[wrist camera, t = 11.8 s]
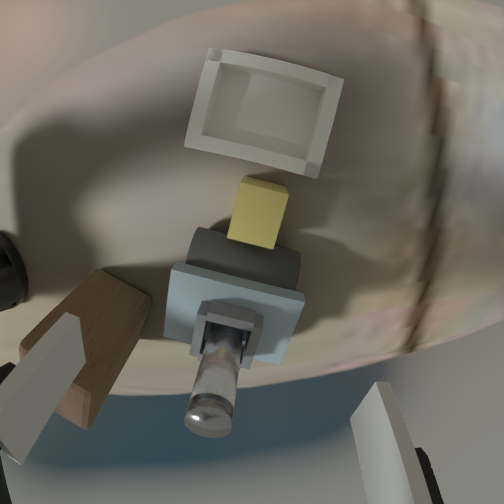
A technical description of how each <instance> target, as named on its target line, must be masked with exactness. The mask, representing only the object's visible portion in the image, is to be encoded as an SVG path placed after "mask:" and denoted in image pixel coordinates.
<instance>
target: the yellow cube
mask: <svg viewBox="0 0 504 504" xmlns="http://www.w3.org/2000/svg"><path fill="white" fill-rule="evenodd" d="M288 197H289V194H288V191H287V189H286V187H285V186H282V185H278V184H274V183H271V182H267V181H263V180H259V179H255V178H251V177H247V176H244V177H243V179H242V180H241V182H240V185H239V189H238V193H237V197H236V201H235V205H234V210H233V214H232V218H231V222H230V226H229V231H228V235H227V238H229V239H233V240H237V241H241V242H245V243H249V244H253V245H257V246H261V247H264V248H268V249H272V250H273V249H274V245H275V242H276V238H277V235H278V232H279V228H280V225H281V221H282V218H283V214H284V211H285V207H286V204H287V200H288Z"/></svg>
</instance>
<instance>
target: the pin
mask: <svg viewBox="0 0 504 504" xmlns="http://www.w3.org/2000/svg"><path fill="white" fill-rule="evenodd" d="M243 334H244V330H243V329H239V328H234V327H230V326H226V325H222V324H218V323H214V322H212V324H211V328H210V331H209V335H208V338H207V341H206V345H205V348H204V352H203V355H202V359H201V362H200V366H199V369H198V373H197V376H196V380H195V383H194V387H193V390H192V394H191V398H190V401H189V405H188V408H187V412H186V415H185V419H184V424H185V425H186V427H187V428H188V429H189V430H190V431H192V432H193V433H195V434H197V435H200V436H203V437H208V438H219V437H224V436H226V435H228V434H229V433H230V431H231V425H232V418H233V411H234V402H235V395H236V388H237V380H238V372H239V365H240V357H241V349H242V342H243Z"/></svg>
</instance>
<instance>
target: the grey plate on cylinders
mask: <svg viewBox="0 0 504 504" xmlns="http://www.w3.org/2000/svg"><path fill="white" fill-rule="evenodd" d="M227 235H228V234H226V233H222V232H218V231H214V230H210V229H206V228H202V227H198V228H197V230H196V232H195V234H194V236H193V239H192V241H191V245H190V248H189V251H188V255H187V259H186V264H184V263H181V262H176V263H175V264H174V266H173V267H172V269H171V274H170V282H169V289H168V297H167V306H166V315H165V324H164V334H163V337H166V338H169V339H173V340H176V341H180V342H183V343H187V344H191V350H190V355H192V356H196V357H199V358H198V360H199V361H201V359H202V355H203V352H204V348H205V345H206V341H207V338H208V335H209V331H210V328H211V324H212V322H214V323H218V324H222V325H226V326H230V327H234V328H239V329H243V330H244V334H243V342H242V349H241V357H240V365H239V370H240V367H242V368H246V369H250V366H251V363H252V360H257V361H262V362H267V363H272V364H278V365H280V363H281V361H282V359H283V356H284V354H285V352H286V349H287V347H288V344H289V342H290V340H291V337H292V335H293V332H294V330H295V327H296V325H297V322H298V320H299V317H300V315H301V312H302V310H303V307H304V305H305V298H304V293H301V292H297V291H295V288H296V284H297V280H298V275H299V270H300V253H299V252H297V251H293V250H289V249H285V248H281V247H278V246H274V249H273V250H272V249H268V248H264V247H261V246H257V245H253V244H249V243H245V242H241V241H237V240H233V239H229V238H227Z"/></svg>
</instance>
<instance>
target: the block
mask: <svg viewBox="0 0 504 504" xmlns="http://www.w3.org/2000/svg"><path fill="white" fill-rule="evenodd" d="M151 305H152V304H151V297H150V296H149V295H147V294H145V293H143V292H141V291H139V290H137V289H136V288H134V287H132V286H130V285H128V284H126V283H125V282H123V281H121V280H119V279H117V278H116V277H114V276H112V275H110V274H109V273H107V272H105V271H103V270H96V271H95V272H94V273H93V274H92V275H90V276H89V277H88V278H87V279H86V280H85V281H84V282H83V283H81V284H80V285H79V286H78V287H77V288H76V289H75V290H74V291H73V292H71V293H70V294H69V295H68V296H67V297H66V298H65V299H64V300H63V301H62V302H61V303H60V304H59V305H57V306H56V307H55V308H54V309H53V310H52V311H51V312H50V313H49V314H48V315H47V316H46V317H45V318H44V319H43V320H42V321H41V322H40V323H39V324H38V325H37V326H36V327H35V328H34V329H33V330H32V331H31V332H30V333H29V334H28V335H27V336H26V337H25V338H24V339H23V340H22V341H21V343H20V347H19V353H20V361H21V360H22V359H23V357H24V356H25V355H26V354H27V353H28V352H29V351H30V350H31V348H32V347H33V346H34V345H35V344H36V343H37V342H38V341H39V340H40V339H41V337H42V336H43V335H44V334H45V333H46V332H47V331H48V330H49V329H50V328H51V327H52V326H53V325H54V324H55V323H56V322H57V320H58V319H59V318H60V317H61V316H62V315H63V314H64V313H65V312H67V313H69V314H72V315H75V316H77V317H79V319H80V327H81V334H82V341H83V347H84V353H85V359H86V363H85V364H84V366H83V367H82V369H81V370H80V372H79V373H78V375H77V376H76V378H75V379H74V380H73V382H72V383H71V385H70V387H69V388H68V390H67V391H66V393H65V394H64V396H63V397H62V399H61V400H60V402H59V403H58V405H57V407H56V408H55V410H54V411H55V412H56V413H58V414H60V415H61V416H63V417H64V418H66V419H68V420H69V421H71V422H72V423H74V424H76V425H78V426H79V427H81V428H84V429H87V428H89V427H90V426H92V424H93V422H94V420H95V418H96V416H97V414H98V412H99V410H100V408H101V406H102V405H103V403H104V401H105V399H106V397H107V395H108V394H109V392H110V390H111V388H112V386H113V384H114V383H115V381H116V379H117V377H118V375H119V374H120V372H121V370H122V368H123V366H124V365H125V363H126V361H127V359H128V358H129V356H130V354H131V352H132V351H133V349H134V347H135V345H136V344H137V342H138V340H139V337H140V334H141V332H142V329H143V326H144V323H145V321H146V318H147V315H148V313H149V310H150V307H151Z"/></svg>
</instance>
